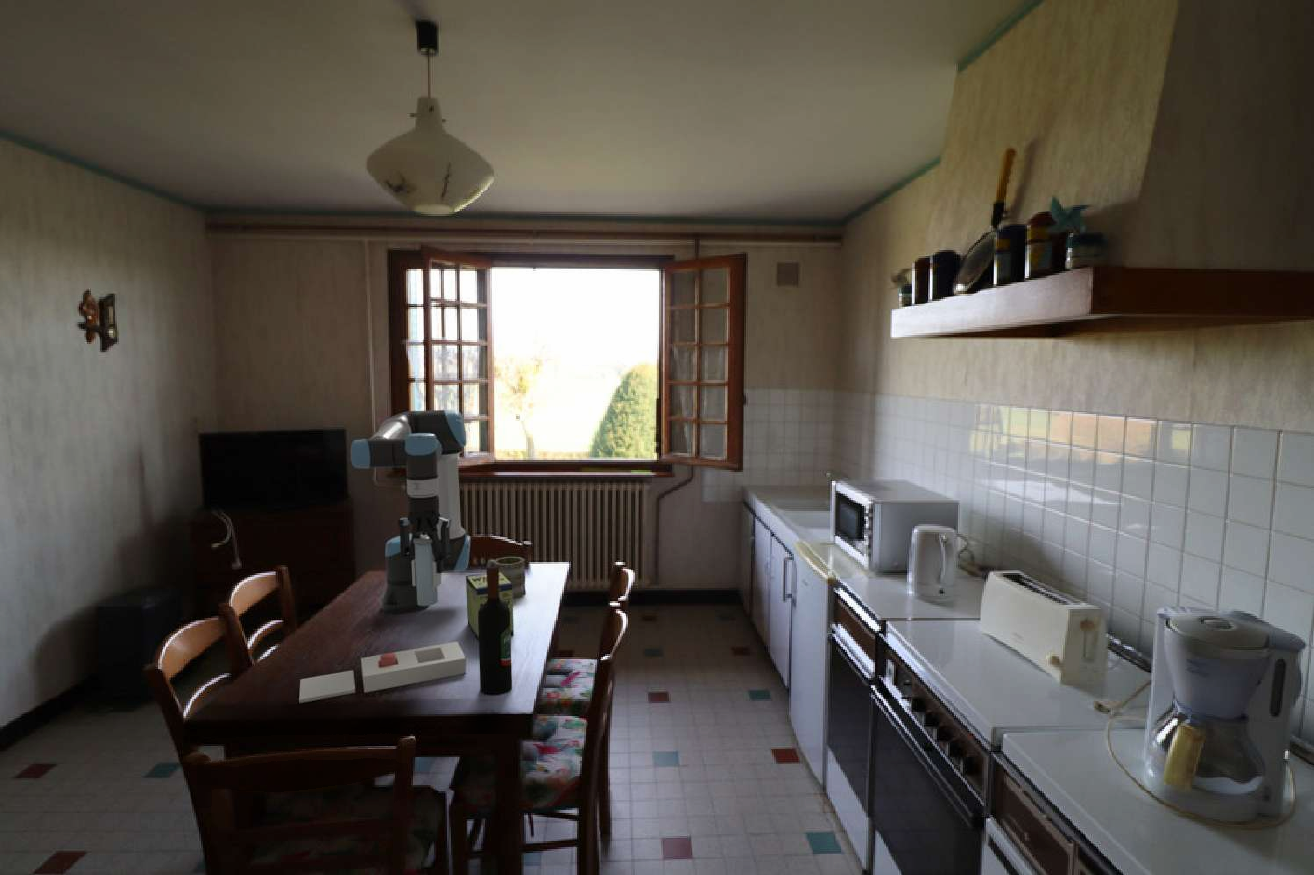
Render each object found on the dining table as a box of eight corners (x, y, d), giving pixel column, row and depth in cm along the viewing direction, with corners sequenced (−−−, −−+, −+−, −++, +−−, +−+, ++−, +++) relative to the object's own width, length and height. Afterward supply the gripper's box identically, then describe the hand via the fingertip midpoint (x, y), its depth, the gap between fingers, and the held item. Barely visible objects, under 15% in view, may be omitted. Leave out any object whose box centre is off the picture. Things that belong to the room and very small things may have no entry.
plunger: (380, 671, 175) (379, 654, 175) (395, 668, 177) (394, 651, 176) (381, 677, 172) (380, 659, 172) (397, 674, 174) (396, 657, 173)
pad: (300, 682, 172) (300, 679, 172) (353, 673, 177) (353, 670, 177) (299, 703, 162) (299, 699, 161) (355, 692, 167) (355, 689, 167)
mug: (532, 593, 241) (531, 559, 239) (510, 601, 232) (509, 566, 230) (499, 585, 249) (498, 553, 248) (477, 594, 240) (476, 560, 239)
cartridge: (411, 605, 175) (408, 539, 173) (423, 598, 181) (420, 534, 179) (432, 607, 174) (429, 540, 172) (443, 599, 180) (440, 535, 178)
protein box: (478, 642, 197) (477, 589, 196) (466, 624, 211) (465, 575, 209) (514, 635, 202) (513, 583, 200) (500, 619, 216) (499, 570, 214)
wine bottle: (483, 682, 172) (479, 563, 169) (513, 680, 172) (510, 562, 170) (477, 696, 164) (473, 572, 161) (510, 694, 165) (506, 571, 162)
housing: (361, 673, 177) (361, 658, 177) (457, 655, 188) (457, 641, 187) (364, 692, 167) (363, 676, 166) (466, 673, 177) (465, 657, 177)
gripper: (382, 496, 172) (386, 587, 175) (449, 498, 169) (453, 591, 172) (398, 491, 180) (401, 578, 182) (463, 493, 177) (466, 581, 179)
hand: (426, 584), depth 177 cm, fingers closed on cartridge, 5 cm apart
